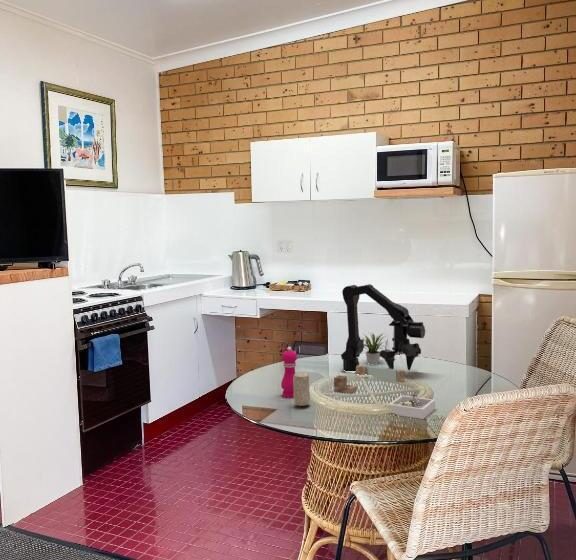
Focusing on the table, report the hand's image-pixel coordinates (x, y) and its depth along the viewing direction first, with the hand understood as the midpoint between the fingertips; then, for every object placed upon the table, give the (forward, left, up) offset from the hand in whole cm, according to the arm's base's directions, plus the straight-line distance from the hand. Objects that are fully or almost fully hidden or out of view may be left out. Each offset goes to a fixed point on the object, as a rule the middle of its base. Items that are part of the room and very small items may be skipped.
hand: (400, 371), depth 270 cm
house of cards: (+23, -39, -4) cm, 45 cm away
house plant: (-20, +19, -3) cm, 28 cm away
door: (-12, -8, -3) cm, 15 cm away
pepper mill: (-29, -45, -3) cm, 54 cm away
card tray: (+21, -42, -3) cm, 47 cm away
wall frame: (-12, -8, -3) cm, 15 cm away
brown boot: (-12, -30, -3) cm, 32 cm away
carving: (-19, -54, -3) cm, 57 cm away
